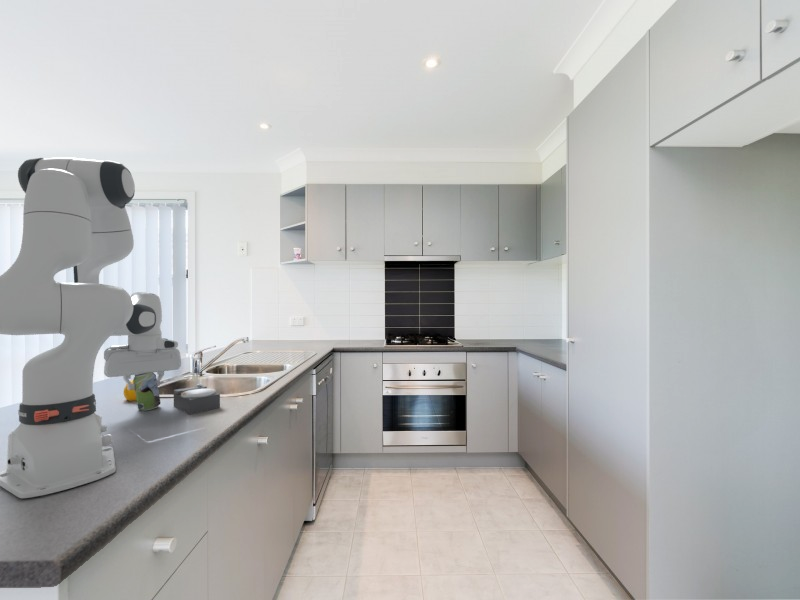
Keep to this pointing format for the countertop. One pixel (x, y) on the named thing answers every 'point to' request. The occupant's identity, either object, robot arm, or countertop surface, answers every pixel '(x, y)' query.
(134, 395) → the apple
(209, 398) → the body block
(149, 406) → the beverage can
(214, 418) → the countertop surface
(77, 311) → the robot arm
